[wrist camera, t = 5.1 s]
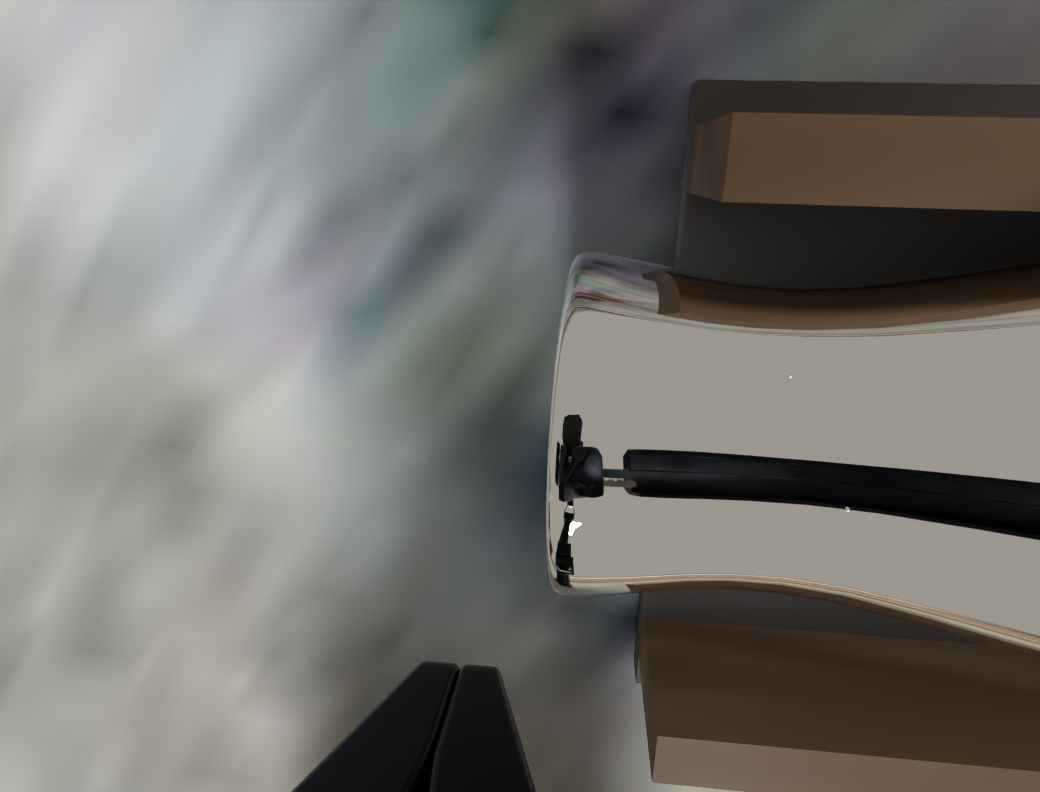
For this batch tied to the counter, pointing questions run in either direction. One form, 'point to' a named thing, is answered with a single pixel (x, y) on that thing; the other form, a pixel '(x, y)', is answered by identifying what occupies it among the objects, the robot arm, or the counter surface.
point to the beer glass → (802, 441)
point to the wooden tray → (813, 623)
